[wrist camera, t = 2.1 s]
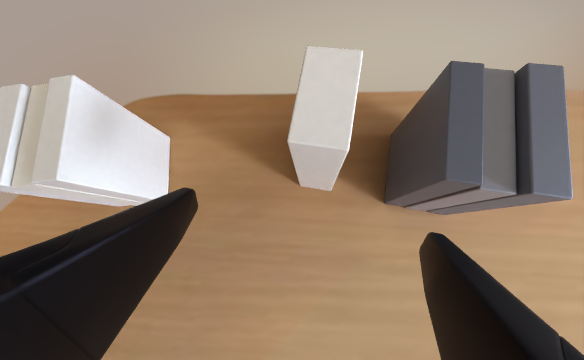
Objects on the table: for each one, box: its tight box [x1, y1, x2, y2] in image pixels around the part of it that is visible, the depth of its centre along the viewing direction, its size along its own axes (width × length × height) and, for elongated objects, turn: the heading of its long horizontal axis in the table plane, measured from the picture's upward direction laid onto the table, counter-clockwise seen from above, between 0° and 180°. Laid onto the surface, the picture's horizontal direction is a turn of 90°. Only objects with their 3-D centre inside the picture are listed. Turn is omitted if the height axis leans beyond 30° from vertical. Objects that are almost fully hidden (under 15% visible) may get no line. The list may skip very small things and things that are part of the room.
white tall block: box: [287, 46, 363, 191], centre depth 16 cm, size 6×3×11 cm, turn 169°
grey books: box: [384, 61, 573, 215], centre depth 16 cm, size 7×5×10 cm
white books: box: [0, 75, 170, 206], centre depth 18 cm, size 7×5×10 cm
